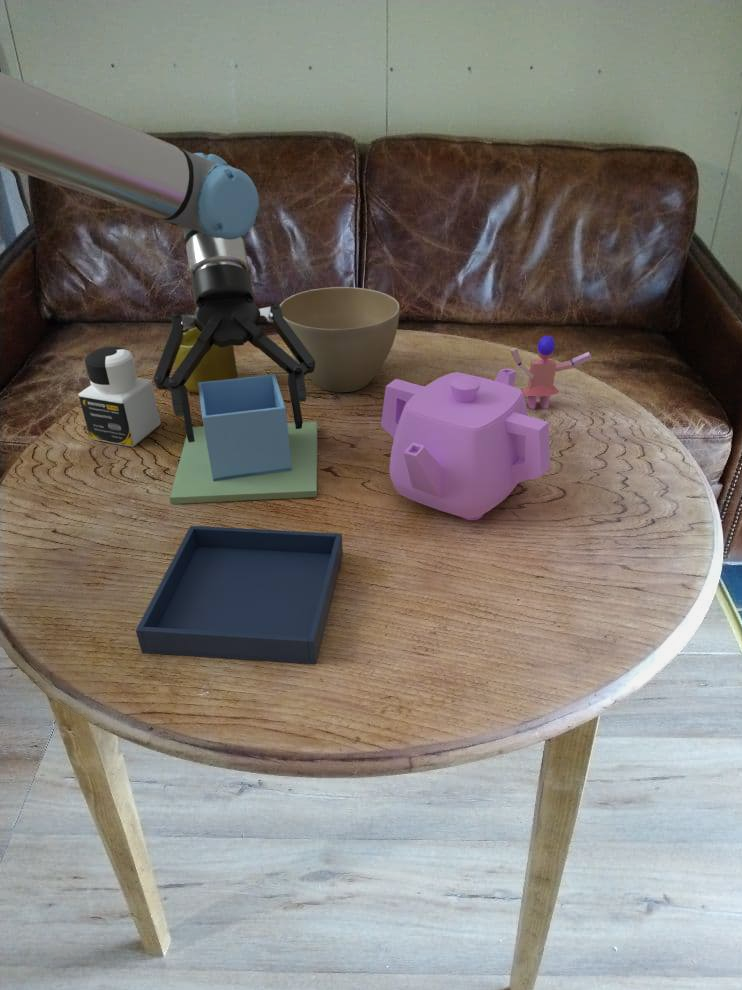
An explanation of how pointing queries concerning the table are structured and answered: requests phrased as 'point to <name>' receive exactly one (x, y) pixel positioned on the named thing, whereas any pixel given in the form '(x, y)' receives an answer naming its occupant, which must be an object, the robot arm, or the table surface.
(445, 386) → the teapot
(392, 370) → the table surface
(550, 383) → the figurine
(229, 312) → the robot arm
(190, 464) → the mat
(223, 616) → the lower bin
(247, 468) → the upper bin
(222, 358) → the mug
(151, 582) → the table surface
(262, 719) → the table surface
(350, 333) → the beige bowl
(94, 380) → the medicine bottle
